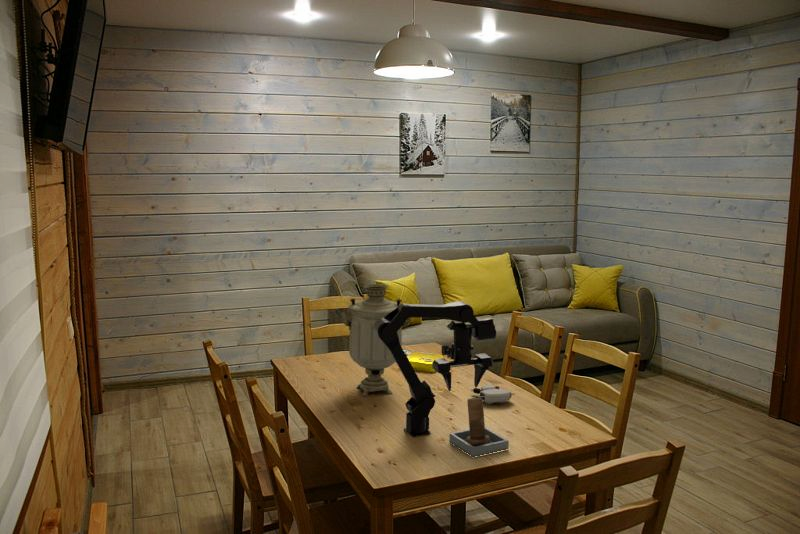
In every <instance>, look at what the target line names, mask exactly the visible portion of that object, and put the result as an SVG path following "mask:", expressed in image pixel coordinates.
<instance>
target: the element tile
mask: <svg viewBox="0 0 800 534" xmlns="http://www.w3.org/2000/svg"><path fill="white" fill-rule="evenodd" d="M406 356H407V358H408V360H409V362H410V363H411V365H412V367H413V369H414V370H417V371H416V372H422V371H423V373H430V372H432V373H437V371H435V370H434V369H433V368H432V363H433V361H434V360H437V359H445V355H444V356H443V355H442V354H439V353H432V352H431V353H429V352H421V351H412V352H411V353H409V354H406Z"/></svg>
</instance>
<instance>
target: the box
mask: <svg viewBox="0 0 800 534" xmlns="http://www.w3.org/2000/svg"><path fill="white" fill-rule="evenodd" d="M485 435H487V436H489V437H490V443H489V444H485V445H480V446H472V445H470V444H469V443H467V442H466V438H467V437H468V436H470V428H469V429H464V430H460V431H459V430H458V431H454V432H449V442H450V443H449V444H451V443H452V444H454V445H455V446H456V447H455V446H454V445H453V446H454V447H455V448H457V447H458V448H460V449H461V450H463V451H464V452H466V453H468V454H469V455H471V456H472V457H475V456H480V455H484V454H489V453H493V452H497V451H501V450H506V449H508V450H509V446H510V445H509V443H510V441H509V440H508V439H507V438H505V437H503V436H501V435H499V434H498V433H496V432H494V431H493V430H491V429H489V428H487V427H486V426H485ZM452 444H451V445H452ZM458 448H457V449H458ZM460 449H459V450H460ZM461 450H460V451H461ZM463 451H462V452H463ZM464 452H463V453H464ZM466 453H465V454H466ZM469 455H468V456H469ZM472 457H471V458H472Z"/></svg>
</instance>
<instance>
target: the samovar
mask: <svg viewBox="0 0 800 534" xmlns="http://www.w3.org/2000/svg"><path fill="white" fill-rule="evenodd" d="M363 288H365V289H366V295H367V297H366V298H364V299H362V300H357V301H356V298H351V299H350V302H351V303H349V304H348V308H349V311H350V316H349V319H347V315H346V313H345V310H344V309H343V308H339V307H338V308H337V309H336V310H335V314H336V315H337V316H338V317H339V316H341V317H340V319H341V320H342V323H343V324H344V325H345V326H346V327H348V331H349V339H348V340H349V341H348V343H349V346H348V348H349V349H348V350H349V351H348V352H349V356H350V358H351V360H352V361H353V362H354V363H356V364H357V365H358V366H360V367H361V368H364V369H365V370H364V371H365V374H366V375H368V376H366V377H365V378H364V379H362V380H361V381H360V383H359V384H357V386H356V389H358V388H360V389H362V390H363V392H362V393H361V396H362V397H368V394H369V393H371V392H377V391H379V392H380V391H385V392H387V393H388V395H393V391H392V390H390V388H389V387H390V386H389V382H388V381H387V380H385V378H384V377H382V375H384V374H385V369H387V368H389V367H391V366H392V365H394V364H395V363H396V361H395V360H394V358H393V356H392V354H391V352H390V351H389V349H388V348H387V346H386V345H385V344H384V343H383V342H382V340H381V339H380V338H379V337H378V336H377V334H376V333H375V332H374V324H375V322H376V321H377V320H379V319H381V318H384V317H385V316H386V315H387V314H388V313H390V312H391V311H393V310H394V309H396V308H397V307H398V306H399V305H400V304H401V302H402V301H403V300H402V299H400V298H396V300H395V301H392V300H389V299H388V298H385V295H386V292H387V291H386V290H387V289H388V288H389V286H388V285H387V284H380V283H371V284H365V285H364V286H363ZM411 319H412V317H410V318H408V319H407V320H406V322H405V323H404V324H403V326H402V327H401V328H400V329H399V330H398V331H397V334H398V337H399V341H400V345H401V346H402V340H403V339H402V336H403V334H402V333H403V327H406V326H408V325H409V324H410V323H411V321H412V320H411Z"/></svg>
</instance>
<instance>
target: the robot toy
mask: <svg viewBox="0 0 800 534" xmlns="http://www.w3.org/2000/svg"><path fill="white" fill-rule="evenodd" d="M470 391H471V392H473V394H477V395H479V397H478V398H482V399H483V402H485V403H486V404H488V405H491V404H494V403H500V404H504V403H507V402H509V401H510V400H511V398H512V395H516V393H512V392H510V391H509V390H507V389H505V388H500V386H497V385H496V386H494V385H492V384H485V385H482V386H480V388H478V387H474V388H471V389H470Z"/></svg>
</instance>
